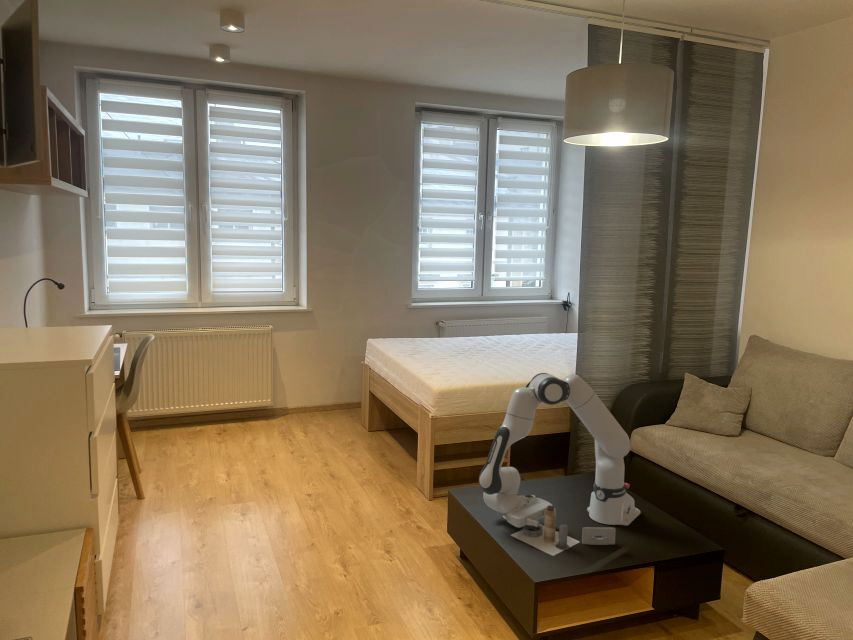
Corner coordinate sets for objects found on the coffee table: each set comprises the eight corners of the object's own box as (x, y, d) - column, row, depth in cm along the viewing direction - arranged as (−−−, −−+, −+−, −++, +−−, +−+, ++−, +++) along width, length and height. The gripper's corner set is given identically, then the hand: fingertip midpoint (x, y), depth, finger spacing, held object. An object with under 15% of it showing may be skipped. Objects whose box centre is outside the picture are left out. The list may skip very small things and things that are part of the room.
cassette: (582, 548, 235) (583, 528, 234) (581, 546, 237) (582, 526, 236) (615, 549, 236) (616, 529, 234) (613, 546, 237) (614, 526, 236)
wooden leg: (548, 536, 241) (549, 503, 239) (557, 540, 238) (558, 507, 236) (541, 540, 238) (542, 506, 236) (550, 544, 235) (551, 510, 233)
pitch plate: (537, 526, 252) (538, 503, 251) (581, 546, 237) (582, 521, 236) (510, 538, 242) (510, 514, 241) (554, 560, 227) (555, 534, 225)
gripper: (499, 507, 241) (528, 520, 231) (535, 493, 255) (563, 504, 244) (499, 523, 242) (528, 537, 232) (534, 508, 256) (563, 520, 245)
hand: (546, 520), depth 238 cm, fingers open, 8 cm apart
